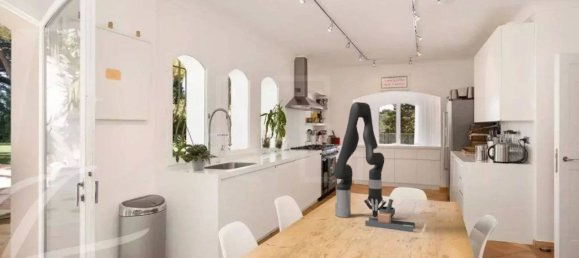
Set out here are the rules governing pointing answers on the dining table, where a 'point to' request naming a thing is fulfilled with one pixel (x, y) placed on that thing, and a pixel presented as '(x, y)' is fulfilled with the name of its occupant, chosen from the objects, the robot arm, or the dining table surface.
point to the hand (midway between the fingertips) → (375, 216)
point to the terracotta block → (384, 217)
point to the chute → (391, 224)
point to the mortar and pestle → (388, 208)
